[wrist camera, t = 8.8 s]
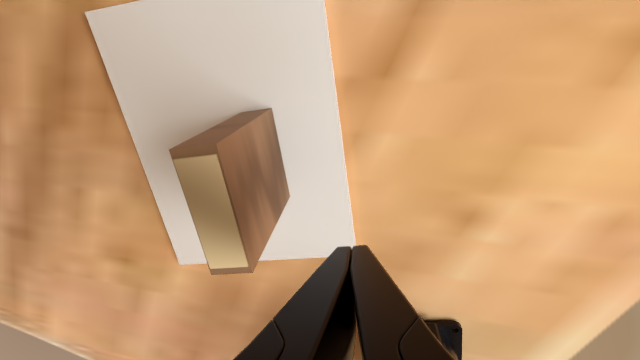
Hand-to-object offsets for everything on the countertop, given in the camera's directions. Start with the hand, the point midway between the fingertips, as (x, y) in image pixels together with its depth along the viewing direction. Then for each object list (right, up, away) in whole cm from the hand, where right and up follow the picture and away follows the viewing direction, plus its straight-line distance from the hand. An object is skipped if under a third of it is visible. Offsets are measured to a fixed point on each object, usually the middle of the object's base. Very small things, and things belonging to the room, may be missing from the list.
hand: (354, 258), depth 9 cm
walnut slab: (-4, +4, +11) cm, 13 cm away
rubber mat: (-7, +5, +12) cm, 14 cm away
